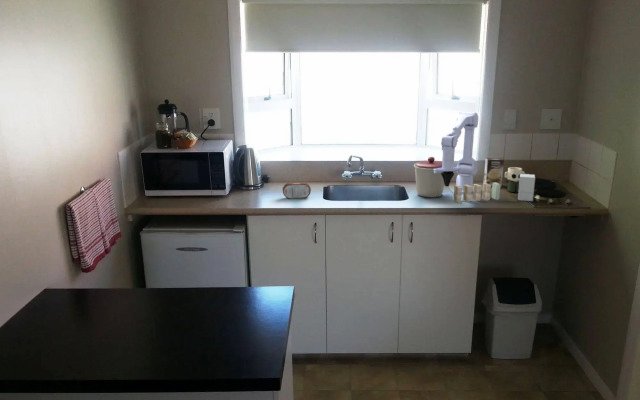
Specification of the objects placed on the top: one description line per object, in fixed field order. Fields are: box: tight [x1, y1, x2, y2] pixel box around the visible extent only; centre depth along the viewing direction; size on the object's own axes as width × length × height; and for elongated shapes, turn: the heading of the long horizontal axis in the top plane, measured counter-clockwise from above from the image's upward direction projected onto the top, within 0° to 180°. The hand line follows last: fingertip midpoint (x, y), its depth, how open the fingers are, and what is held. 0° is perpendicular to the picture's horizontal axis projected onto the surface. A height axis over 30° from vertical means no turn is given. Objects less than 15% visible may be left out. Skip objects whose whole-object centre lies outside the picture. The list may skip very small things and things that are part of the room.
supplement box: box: [517, 173, 536, 202], centre depth 268 cm, size 7×7×13 cm
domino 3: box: [471, 183, 482, 202], centre depth 269 cm, size 4×2×8 cm, turn 15°
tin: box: [282, 182, 312, 199], centre depth 276 cm, size 15×3×8 cm, turn 94°
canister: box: [413, 156, 445, 198], centre depth 277 cm, size 18×18×21 cm
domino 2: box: [462, 185, 473, 203], centre depth 267 cm, size 4×2×8 cm, turn 15°
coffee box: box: [482, 157, 505, 188], centre depth 295 cm, size 9×6×16 cm
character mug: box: [504, 166, 526, 193], centre depth 283 cm, size 11×7×13 cm, turn 93°
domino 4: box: [481, 183, 492, 201], centre depth 270 cm, size 4×2×8 cm, turn 14°
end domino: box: [490, 182, 501, 200], centre depth 271 cm, size 4×2×8 cm, turn 10°
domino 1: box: [453, 185, 463, 204], centre depth 266 cm, size 4×2×8 cm, turn 15°
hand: (446, 185), depth 263 cm, fingers closed
